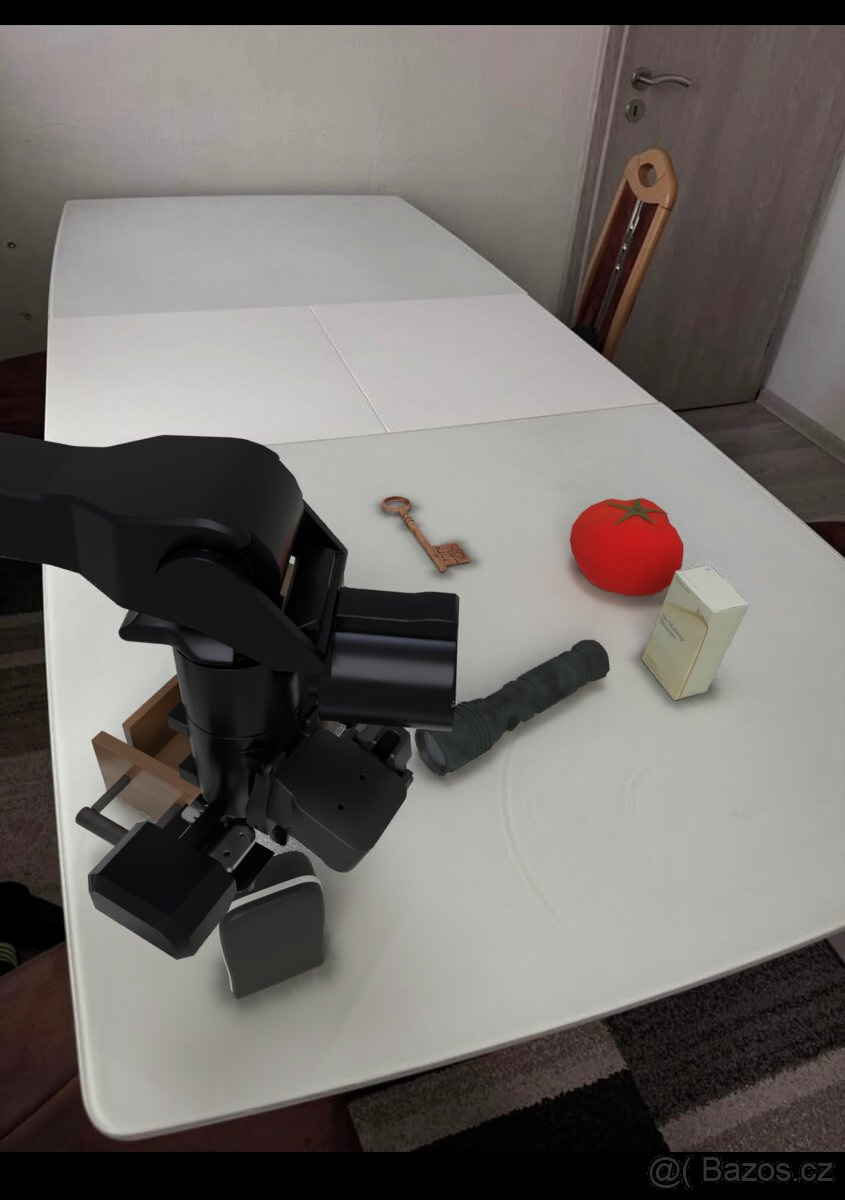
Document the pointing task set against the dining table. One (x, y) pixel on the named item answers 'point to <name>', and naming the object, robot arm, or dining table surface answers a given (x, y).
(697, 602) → the cosmetic box
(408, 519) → the key
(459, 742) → the flashlight
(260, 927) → the battery charger
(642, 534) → the tomato
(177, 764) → the drawer
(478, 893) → the dining table surface
